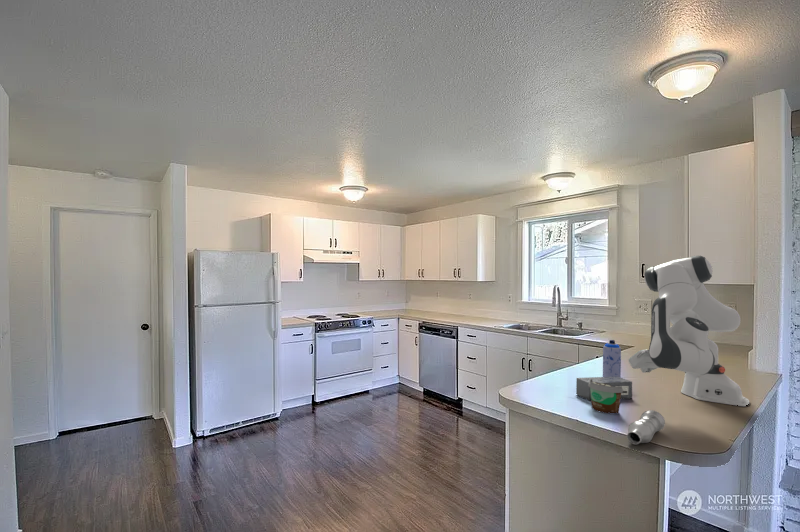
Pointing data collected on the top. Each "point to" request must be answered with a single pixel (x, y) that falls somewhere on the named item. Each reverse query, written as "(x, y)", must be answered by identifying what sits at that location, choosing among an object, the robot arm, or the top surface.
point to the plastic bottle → (645, 427)
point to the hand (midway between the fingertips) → (644, 370)
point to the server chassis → (584, 389)
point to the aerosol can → (611, 360)
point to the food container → (605, 397)
